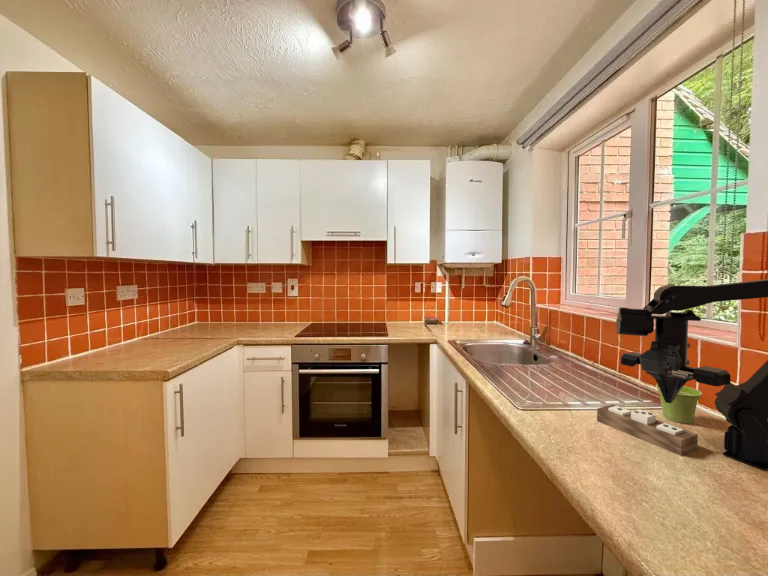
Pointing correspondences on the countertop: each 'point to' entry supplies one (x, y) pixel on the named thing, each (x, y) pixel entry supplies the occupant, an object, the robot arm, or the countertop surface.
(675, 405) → the plant pot
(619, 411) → the tile one dot
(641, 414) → the tile three dot
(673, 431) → the tile two dot
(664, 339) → the robot arm
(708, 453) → the countertop surface
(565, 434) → the countertop surface
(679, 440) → the tile board
